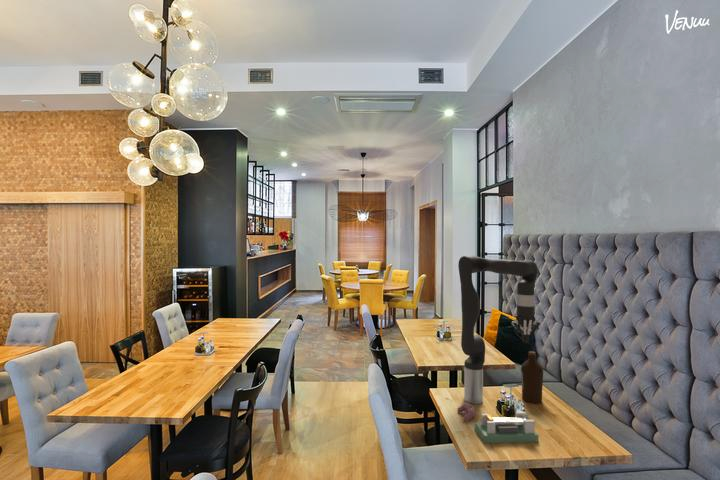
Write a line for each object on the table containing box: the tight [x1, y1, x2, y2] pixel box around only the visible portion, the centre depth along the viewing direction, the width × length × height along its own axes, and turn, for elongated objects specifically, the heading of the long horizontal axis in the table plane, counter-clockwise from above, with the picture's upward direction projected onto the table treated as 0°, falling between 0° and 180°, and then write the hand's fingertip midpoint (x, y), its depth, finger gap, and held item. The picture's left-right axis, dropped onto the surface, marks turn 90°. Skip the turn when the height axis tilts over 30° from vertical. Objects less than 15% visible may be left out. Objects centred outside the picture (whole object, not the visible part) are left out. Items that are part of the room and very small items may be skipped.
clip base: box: [474, 411, 539, 444], centre depth 157 cm, size 11×22×8 cm, turn 92°
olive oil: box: [520, 350, 544, 404], centre depth 192 cm, size 11×11×25 cm
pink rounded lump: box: [457, 402, 476, 422], centre depth 173 cm, size 10×5×7 cm, turn 2°
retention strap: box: [486, 414, 527, 425], centre depth 157 cm, size 5×17×2 cm, turn 92°
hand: (525, 342), depth 167 cm, fingers closed
